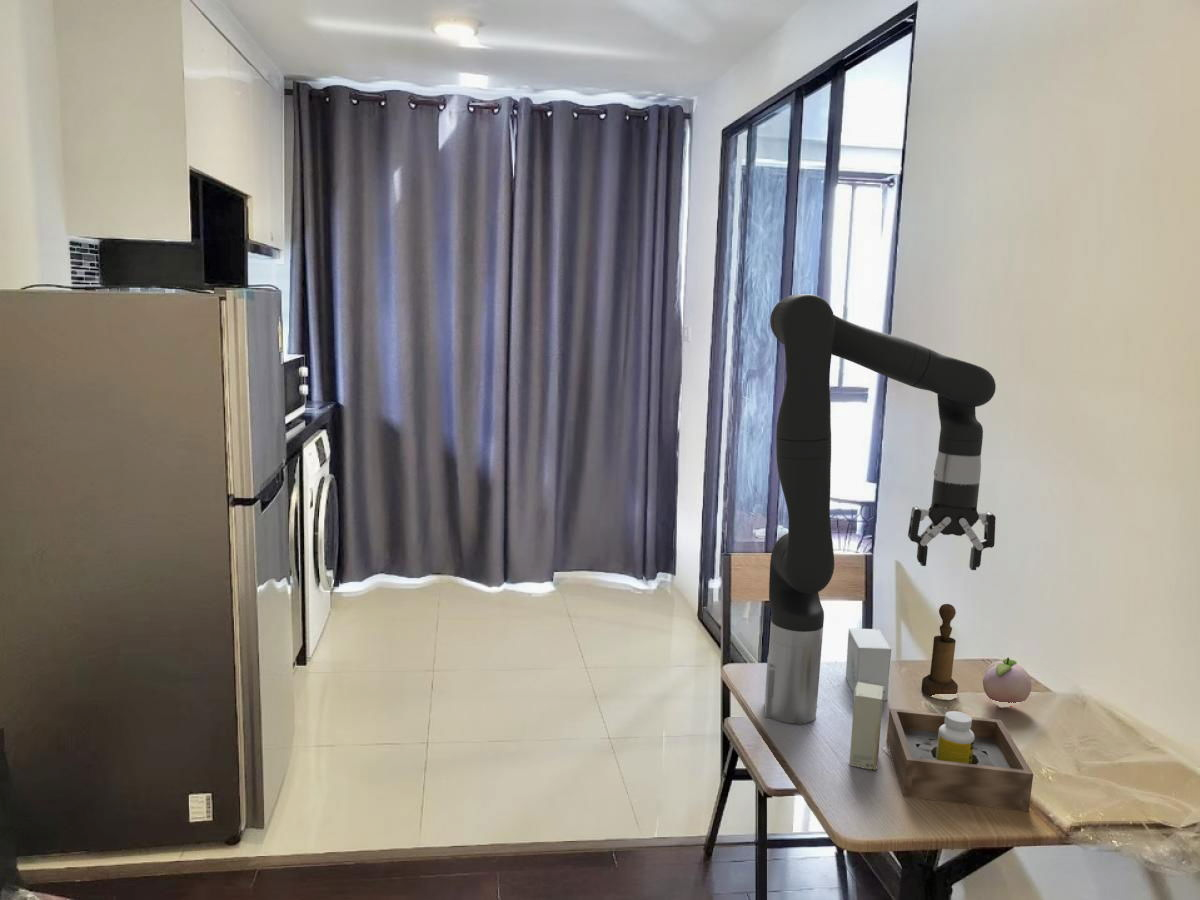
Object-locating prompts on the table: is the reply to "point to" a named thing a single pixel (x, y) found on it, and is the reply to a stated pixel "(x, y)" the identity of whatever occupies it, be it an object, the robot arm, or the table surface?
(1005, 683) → the decorative fruit
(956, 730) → the supplement bottle
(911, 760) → the bore box
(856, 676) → the skincare box
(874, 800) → the table surface
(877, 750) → the skincare box
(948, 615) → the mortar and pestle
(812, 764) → the table surface
